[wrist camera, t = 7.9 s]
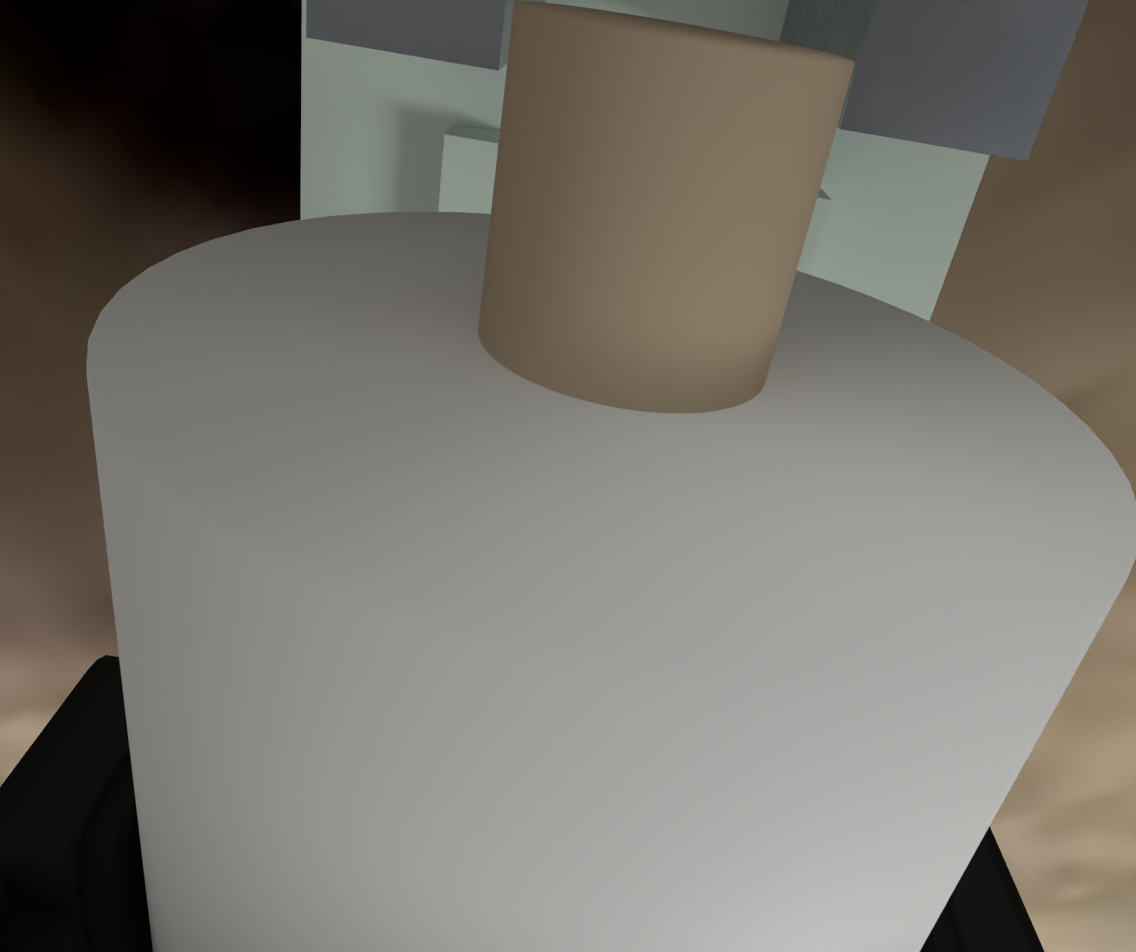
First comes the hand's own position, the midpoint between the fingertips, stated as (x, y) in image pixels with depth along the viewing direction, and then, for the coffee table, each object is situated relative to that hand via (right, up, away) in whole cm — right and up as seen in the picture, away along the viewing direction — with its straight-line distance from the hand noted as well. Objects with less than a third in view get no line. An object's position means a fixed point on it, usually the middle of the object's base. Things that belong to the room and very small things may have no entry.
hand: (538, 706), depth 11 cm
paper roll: (0, 0, +1) cm, 1 cm away
